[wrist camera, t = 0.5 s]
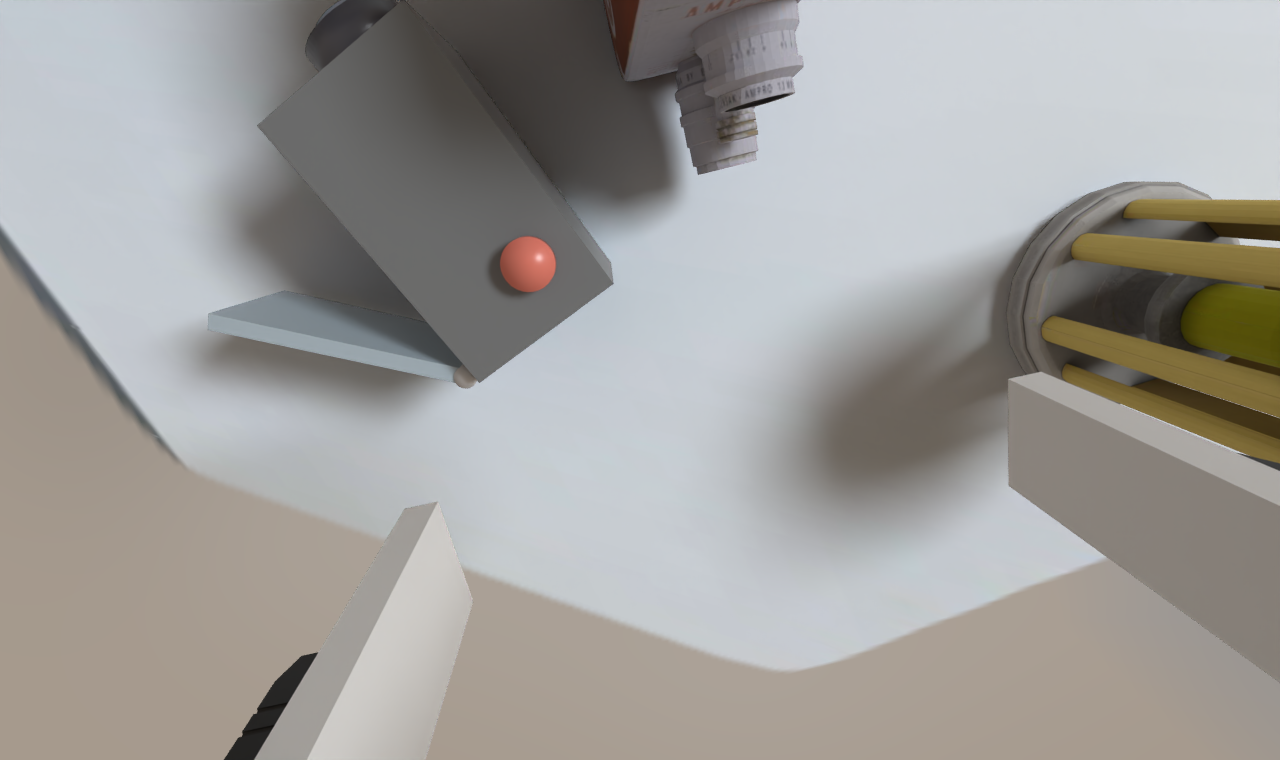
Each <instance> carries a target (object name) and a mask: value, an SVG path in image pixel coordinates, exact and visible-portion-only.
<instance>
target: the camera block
mask: <svg viewBox="0 0 1280 760" xmlns="http://www.w3.org/2000/svg"><path fill="white" fill-rule="evenodd" d="M305 52H306V56H307V58H308V59H309V60H310V62H311V63H312V64H313V65H314V67H315V68H316V69H317V70H318V71H319V73H317V74H316V75H315V76H314V77H313V78H312V79H310V80H309V81H308V82H307V83H306V84H305V85H303V86H302V87H301V88H300V89H299V90H298V91H297V92H295V93H294V94H293V95H292V96H291V97H290V98H288V99H287V100H286V101H285V102H284V103H283V104H281V105H280V106H279V107H278V108H277V109H276V110H275V111H273V112H272V113H271V114H270V115H269V116H268V117H266V118H265V119H264V120H263V121H262V122H261V123H259V124H258V125H257V126H258V127H259V129H260V130H261V131H262V132H263V133H264V134H265V135H266V137H267V138H268V139H269V140H270V141H271V142H272V144H273V145H274V146H275V147H276V148H277V149H278V150H279V152H280V153H281V154H282V155H283V156H284V157H285V159H286V160H287V161H288V162H289V163H290V164H291V166H292V167H293V168H294V169H295V170H296V171H297V172H298V174H299V175H300V176H301V177H302V178H303V179H304V181H305V182H306V183H307V184H308V185H309V186H310V187H311V189H312V190H313V191H314V192H315V193H316V194H317V196H318V197H319V198H320V199H321V200H322V201H323V203H324V204H325V205H326V206H327V207H328V208H329V209H330V211H331V212H332V213H333V214H334V215H335V216H336V218H337V219H338V220H339V221H340V222H341V223H342V225H343V226H344V227H345V228H346V229H347V230H348V231H349V233H350V234H351V235H352V236H353V237H354V238H355V240H356V241H357V242H358V243H359V244H360V245H361V246H362V248H363V249H364V250H365V251H366V252H367V253H368V255H369V256H370V257H371V258H372V259H373V260H374V262H375V263H376V264H377V265H378V266H379V267H380V268H381V270H382V271H383V272H384V273H385V274H386V275H387V277H388V278H389V279H390V280H391V281H392V282H393V284H394V285H395V286H396V287H397V288H398V289H399V290H400V292H401V293H402V294H403V295H404V296H405V297H406V299H407V300H408V301H409V302H410V303H411V304H412V305H413V307H414V308H415V309H416V310H417V311H418V312H419V314H420V315H421V316H422V317H423V318H424V319H425V321H426V322H427V323H428V324H429V325H430V326H431V327H432V329H433V330H434V331H435V332H436V333H437V334H438V336H439V337H440V338H441V339H442V340H443V341H444V342H445V344H446V345H447V346H448V347H449V348H450V349H451V351H452V352H453V353H454V354H455V355H456V356H457V358H458V359H459V360H460V361H461V362H462V363H463V364H464V366H465V367H466V368H467V369H468V370H469V371H470V373H471V374H472V375H473V376H474V377H475V378H476V380H477V381H478V382H479V383H480V382H481V381H483V380H484V379H485V378H487V377H488V376H489V375H491V374H492V373H493V372H495V371H496V370H497V369H499V368H500V367H502V366H503V365H504V364H506V363H507V362H508V361H510V360H511V359H512V358H514V357H515V356H516V355H518V354H519V353H520V352H522V351H523V350H524V349H526V348H527V347H529V346H530V345H531V344H533V343H534V342H535V341H537V340H538V339H539V338H541V337H542V336H543V335H545V334H546V333H547V332H549V331H550V330H552V329H553V328H554V327H556V326H557V325H558V324H560V323H561V322H562V321H564V320H565V319H566V318H568V317H569V316H570V315H572V314H573V313H574V312H576V311H577V310H579V309H580V308H581V307H583V306H584V305H585V304H587V303H588V302H589V301H591V300H592V299H593V298H595V297H596V296H597V295H599V294H600V293H601V292H603V291H604V290H606V289H607V288H608V287H610V286H611V285H612V284H614V283H613V276H612V268H611V262H610V261H609V259H608V258H607V257H606V255H605V254H604V252H603V251H602V250H601V248H600V247H599V246H598V244H597V243H596V242H595V240H594V239H593V237H592V236H591V235H590V233H589V232H588V231H587V229H586V228H585V227H584V225H583V224H582V222H581V221H580V220H579V218H578V217H577V216H576V214H575V213H574V211H573V210H572V209H571V207H570V206H569V205H568V203H567V202H566V201H565V199H564V198H563V196H562V195H561V194H560V192H559V191H558V190H557V188H556V187H555V186H554V184H553V183H552V181H551V180H550V179H549V177H548V176H547V175H546V173H545V172H544V170H543V169H542V168H541V166H540V165H539V164H538V162H537V161H536V160H535V158H534V157H533V155H532V154H531V153H530V151H529V150H528V149H527V147H526V146H525V145H524V143H523V142H522V140H521V139H520V138H519V136H518V135H517V134H516V132H515V131H514V130H513V128H512V127H511V125H510V124H509V123H508V121H507V120H506V119H505V117H504V116H503V114H502V113H501V112H500V110H499V109H498V108H497V106H496V105H495V104H494V102H493V101H492V99H491V98H490V97H489V95H488V94H487V93H486V91H485V90H484V89H483V87H482V86H481V84H480V83H479V82H478V80H477V79H476V78H475V76H474V75H473V73H472V72H471V71H470V69H469V68H468V67H467V65H466V64H465V63H464V61H463V60H462V58H461V57H460V56H459V54H458V53H457V52H456V50H455V49H453V48H452V47H451V46H450V45H449V44H448V43H447V42H446V41H445V40H444V39H443V38H442V37H441V36H440V35H439V34H438V33H437V32H436V31H435V30H434V29H433V28H432V27H431V26H430V25H429V24H428V23H427V22H426V21H425V20H424V19H423V18H422V17H421V16H420V15H419V14H418V13H417V12H416V11H415V10H414V9H413V8H412V7H411V6H410V5H409V4H408V3H407V2H406V1H405V0H402V1H401V2H400V3H397V2H396V0H340V1H338V2H337V3H335V4H334V5H333V6H331V7H330V8H329V9H328V10H327V11H326V12H325V13H324V14H323V15H322V16H321V18H320V19H319V21H318V22H317V24H316V27H315V28H314V29H313V31H312V32H311V34H310V36H309V38H308V40H307V43H306V47H305Z"/></svg>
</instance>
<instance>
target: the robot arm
mask: <svg viewBox="0 0 1280 760" xmlns="http://www.w3.org/2000/svg"><path fill="white" fill-rule="evenodd" d="M1008 467H1009V486H1010V487H1011V488H1012V489H1014V490H1015V491H1017V492H1018V493H1019V494H1021V495H1022V496H1023V497H1025V498H1026V499H1028V500H1029V501H1030V502H1032V503H1033V504H1034V505H1036V506H1037V507H1039V508H1040V509H1041V510H1043V511H1044V512H1045V513H1047V514H1048V515H1050V516H1051V517H1052V518H1054V519H1055V520H1057V521H1058V522H1059V523H1061V524H1062V525H1063V526H1065V527H1066V528H1068V529H1069V530H1070V531H1072V532H1073V533H1074V534H1076V535H1077V536H1079V537H1080V538H1081V539H1083V540H1084V541H1085V542H1087V543H1088V544H1090V545H1091V546H1092V547H1094V548H1095V549H1096V550H1098V551H1099V552H1101V553H1102V554H1103V555H1105V556H1106V557H1107V558H1109V559H1110V560H1112V561H1113V562H1114V563H1116V564H1117V565H1118V566H1120V567H1121V568H1123V569H1124V570H1126V571H1127V572H1128V573H1129V574H1131V575H1132V576H1134V577H1135V578H1136V579H1138V580H1139V581H1141V582H1142V583H1143V584H1145V585H1146V586H1147V587H1149V588H1150V589H1151V590H1153V591H1154V592H1156V593H1157V594H1158V595H1160V596H1161V597H1163V598H1164V599H1165V600H1167V601H1168V602H1169V603H1171V604H1172V605H1173V606H1175V607H1176V608H1178V609H1179V610H1180V611H1182V612H1183V613H1185V614H1186V615H1188V616H1189V617H1190V618H1191V619H1193V620H1194V621H1196V622H1197V623H1198V624H1200V625H1201V626H1202V627H1204V628H1205V629H1207V630H1208V631H1209V632H1211V633H1212V634H1214V635H1215V636H1216V637H1218V638H1219V639H1220V640H1222V641H1223V642H1224V643H1226V644H1227V645H1229V646H1230V647H1231V648H1233V649H1234V650H1236V651H1237V652H1238V653H1240V654H1241V655H1242V656H1244V657H1245V658H1246V659H1248V660H1249V661H1251V662H1252V663H1253V664H1255V665H1256V666H1257V667H1259V668H1260V669H1262V670H1263V671H1264V672H1266V673H1267V674H1269V675H1270V676H1271V677H1273V678H1274V679H1275V680H1277V681H1278V682H1280V463H1277V462H1272V461H1268V460H1264V459H1260V458H1256V457H1252V456H1248V455H1243V454H1239V453H1235V452H1233V451H1230V450H1228V449H1226V448H1223V447H1221V446H1218V445H1216V444H1214V443H1211V442H1209V441H1206V440H1204V439H1202V438H1199V437H1197V436H1194V435H1192V434H1190V433H1187V432H1185V431H1182V430H1180V429H1178V428H1175V427H1173V426H1170V425H1168V424H1166V423H1163V422H1161V421H1158V420H1156V419H1154V418H1151V417H1149V416H1146V415H1144V414H1142V413H1139V412H1137V411H1134V410H1132V409H1129V408H1127V407H1125V406H1122V405H1120V404H1117V403H1115V402H1113V401H1110V400H1108V399H1105V398H1103V397H1101V396H1098V395H1096V394H1093V393H1091V392H1089V391H1086V390H1084V389H1081V388H1079V387H1077V386H1074V385H1072V384H1069V383H1067V382H1065V381H1062V380H1060V379H1057V378H1055V377H1053V376H1050V375H1048V374H1045V373H1043V372H1038V373H1033V374H1028V375H1024V376H1019V377H1014V378H1010V379H1008ZM472 603H473V599H472V596H471V594H470V591H469V588H468V585H467V582H466V579H465V577H464V574H463V571H462V568H461V565H460V563H459V560H458V557H457V554H456V551H455V548H454V546H453V543H452V540H451V537H450V534H449V531H448V529H447V526H446V523H445V520H444V517H443V514H442V512H441V509H440V506H439V503H438V502H434V503H429V504H425V505H420V506H415V507H411V508H406V509H404V511H403V512H402V514H401V516H400V517H399V519H398V521H397V522H396V524H395V526H394V527H393V529H392V531H391V532H390V534H389V536H388V537H387V539H386V541H385V542H384V544H383V546H382V548H381V549H380V551H379V552H378V554H377V556H376V557H375V559H374V561H373V562H372V564H371V566H370V567H369V569H368V571H367V573H366V574H365V576H364V578H363V579H362V581H361V582H360V584H359V586H358V587H357V589H356V591H355V592H354V594H353V596H352V597H351V599H350V601H349V602H348V604H347V606H346V607H345V609H344V611H343V612H342V614H341V616H340V617H339V620H338V621H337V622H336V624H335V626H334V628H333V629H332V631H331V633H330V634H329V636H328V638H327V639H326V641H325V642H324V644H323V646H322V648H321V649H320V651H319V652H318V653H313V654H309V655H304V656H301V657H300V658H299V659H298V660H297V661H296V662H295V663H294V664H293V665H292V666H291V667H290V668H289V669H288V670H287V671H286V672H284V673H283V674H282V675H281V676H280V677H279V678H278V679H277V680H276V681H275V682H274V684H273V685H272V687H271V688H270V690H269V692H268V693H267V695H266V696H265V698H264V699H263V701H262V702H261V704H260V705H259V707H258V708H257V710H258V712H257V714H253V716H252V717H251V719H250V721H249V722H248V724H247V725H246V727H245V728H244V730H243V731H242V733H243V735H242V737H239V738H238V739H237V741H236V742H235V744H234V745H233V747H232V748H231V750H230V751H229V753H228V755H227V756H226V757H225V759H224V760H425V759H426V756H427V753H428V750H429V746H430V743H431V740H432V736H433V733H434V730H435V726H436V723H437V720H438V716H439V713H440V710H441V706H442V703H443V700H444V696H445V693H446V690H447V687H448V683H449V680H450V677H451V673H452V670H453V667H454V663H455V660H456V656H457V653H458V650H459V646H460V643H461V640H462V637H463V633H464V630H465V627H466V623H467V620H468V617H469V613H470V610H471V606H472Z"/></svg>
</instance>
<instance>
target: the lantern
mask: <svg viewBox="0 0 1280 760" xmlns="http://www.w3.org/2000/svg"><path fill="white" fill-rule="evenodd" d="M1238 238H1243V239H1258V240H1272V241H1280V200H1212V199H1211V197H1210V196H1209V195H1207V194H1205V193H1202V192H1200V191H1198V190H1195V189H1193V188H1191V187H1188V186H1186V185H1183V184H1181V183H1179V182H1123V183H1120V184H1117V185H1113V186H1110V187H1107V188H1104V189H1101V190H1098V191H1095V192H1091V193H1089V194H1087V195H1086V196H1084V197H1083V198H1081V199H1080V200H1078V201H1077V202H1075V203H1074V204H1072V205H1071V206H1069V207H1068V208H1066V209H1065V210H1063V211H1061V212H1060V213H1058V214H1057V215H1056V216H1055V217H1054V218H1053V219H1052V220H1051V221H1050V223H1049V224H1048V225H1047V226H1046V227H1045V228H1044V229H1043V230H1042V232H1041V233H1040V234H1039V235H1038V236H1037V237H1036V238H1035V239H1034V241H1033V242H1032V243H1031V244H1030V246H1029V248H1028V250H1027V251H1026V253H1025V255H1024V257H1023V259H1022V261H1021V263H1020V265H1019V267H1018V269H1017V271H1016V273H1015V275H1014V277H1013V280H1012V285H1011V290H1010V295H1009V301H1008V306H1007V311H1006V316H1007V325H1008V333H1009V342H1010V346H1011V348H1012V350H1013V352H1014V353H1015V355H1016V357H1017V359H1018V361H1019V363H1020V365H1021V367H1022V369H1023V371H1024V372H1026V373H1027V374H1033V373H1038V372H1043V373H1045V374H1048V375H1050V376H1053V377H1055V378H1057V379H1060V380H1062V381H1065V382H1067V383H1069V384H1072V385H1074V386H1077V387H1079V388H1081V389H1084V390H1086V391H1089V392H1091V393H1093V394H1096V395H1098V396H1101V397H1103V398H1105V399H1108V400H1110V401H1113V402H1115V403H1117V404H1123V405H1125V406H1128V407H1130V408H1133V409H1135V410H1138V411H1140V412H1143V413H1145V414H1148V415H1150V416H1153V417H1155V418H1157V419H1160V420H1162V421H1165V422H1167V423H1170V424H1172V425H1175V426H1177V427H1180V428H1182V429H1185V430H1187V431H1190V432H1192V433H1195V434H1197V435H1200V436H1202V437H1205V438H1207V439H1210V440H1212V441H1214V442H1217V443H1219V444H1222V445H1224V446H1227V447H1229V448H1232V449H1234V450H1237V451H1239V452H1242V453H1244V454H1247V455H1249V456H1252V457H1256V458H1260V459H1264V460H1268V461H1272V462H1277V463H1280V248H1270V247H1257V246H1245V245H1240V242H1239V240H1238ZM1174 383H1176V384H1174ZM1177 384H1179V385H1177ZM1180 385H1182V386H1180ZM1183 386H1185V387H1183ZM1186 387H1188V388H1186ZM1189 388H1191V389H1189ZM1192 389H1194V390H1192ZM1196 390H1197V391H1196ZM1199 391H1200V392H1199ZM1202 392H1203V393H1202ZM1205 393H1206V394H1205ZM1208 394H1209V395H1208ZM1211 395H1212V396H1211ZM1214 396H1215V397H1214ZM1217 397H1218V398H1217ZM1220 398H1221V399H1220ZM1223 399H1224V400H1223ZM1226 400H1228V401H1226ZM1229 401H1231V402H1229ZM1232 402H1234V403H1232ZM1235 403H1237V404H1235ZM1238 404H1240V405H1238ZM1241 405H1243V406H1241ZM1244 406H1246V407H1244ZM1247 407H1249V408H1247ZM1250 408H1252V409H1250ZM1253 409H1255V410H1253ZM1256 410H1258V411H1256ZM1259 411H1261V412H1259ZM1262 412H1264V413H1262ZM1265 413H1267V414H1265ZM1268 414H1270V415H1268ZM1271 415H1273V416H1271ZM1274 416H1276V417H1274ZM1277 417H1279V418H1277Z"/></svg>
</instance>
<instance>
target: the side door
mask: <svg viewBox="0 0 1280 760" xmlns="http://www.w3.org/2000/svg"><path fill="white" fill-rule="evenodd" d="M208 330H210V331H215V332H220V333H224V334H229V335H234V336H238V337H243V338H248V339H253V340H257V341H262V342H267V343H271V344H276V345H281V346H285V347H290V348H295V349H299V350H304V351H309V352H313V353H318V354H323V355H328V356H332V357H337V358H342V359H346V360H351V361H356V362H360V363H365V364H370V365H374V366H379V367H384V368H388V369H393V370H398V371H402V372H407V373H412V374H417V375H421V376H426V377H431V378H435V379H440V380H445V381H449V382H454V383H456V384H457V385H458V386H459V387H461V388H471V387H472V386H474V384H475V383H476V382H477V380H476V378H475V377H474V376H473V375H472V374H471V373H470V371H469V370H468V369H467V368H466V367H465V366H464V364H463V363H462V362H461V361H460V360H459V359H458V358H457V356H456V355H455V354H454V353H453V352H452V351H451V349H450V348H449V347H448V346H447V345H446V344H445V342H444V341H443V340H442V339H441V338H440V337H439V336H438V334H437V333H436V332H435V331H434V330H433V329H432V327H431V326H430V325H429V324H428V323H427V322H422V321H418V320H413V319H409V318H404V317H400V316H396V315H391V314H387V313H382V312H378V311H373V310H369V309H364V308H360V307H355V306H351V305H347V304H342V303H338V302H333V301H329V300H324V299H320V298H315V297H311V296H307V295H302V294H298V293H293V292H289V291H281V292H278V293H275V294H271V295H268V296H265V297H261V298H258V299H255V300H252V301H248V302H245V303H242V304H238V305H235V306H232V307H228V308H225V309H222V310H219V311H215V312H212V313H209V314H208Z"/></svg>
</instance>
